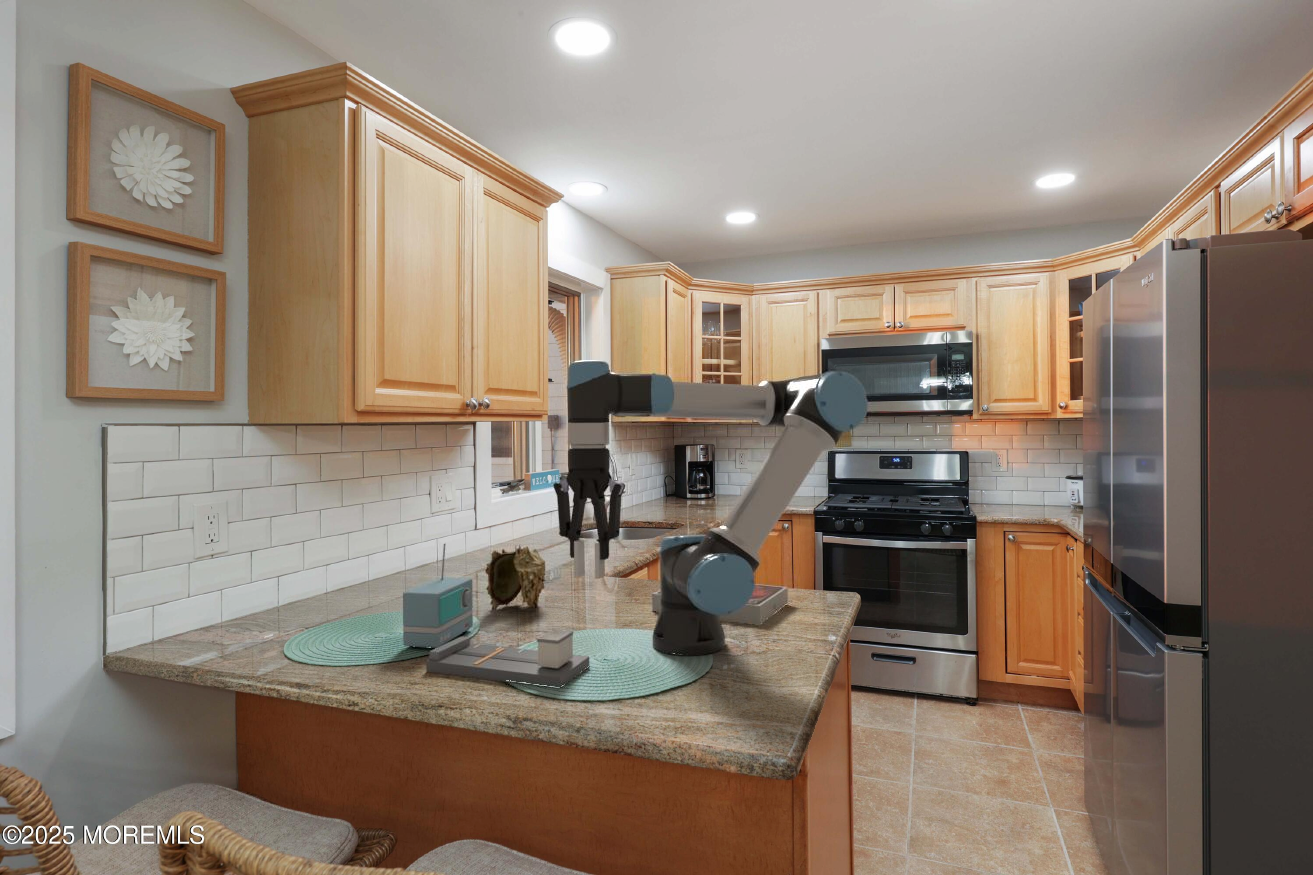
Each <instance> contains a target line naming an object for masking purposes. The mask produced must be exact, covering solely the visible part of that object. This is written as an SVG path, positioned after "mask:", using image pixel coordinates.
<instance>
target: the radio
mask: <svg viewBox="0 0 1313 875" xmlns="http://www.w3.org/2000/svg"><path fill="white" fill-rule="evenodd" d="M445 555H446V543H443V550H442V562H441V563H442V564H441V565H442V566H441V576H440V577H438V578H436V579H434V580H431V581H429V582H426V583H424V584H422V585H419V586H416V587H414V588H411V589H408V590H407V591H404V592H403V593H402V642H403V643H402V645H403V646H405V647H410V646H415V647H431V648H438V647H440V646H442V645H444V644H446V643H449V642H451V641H452V640H454V639H456V638H457V637H458V636H460V635H461V634H464V633H463V632H466V633H467V632H468V630H470V629H472V628H473V626H474V624H473V622H474V620H473V619H474V618H473V616H474V615H473V610H474V609H473V607H474V606H473V605H474V604H473V603H474V602H473V596H474V595H473V594H474V593H473V579H472V578H470V577H467V578H466V577H447V576H446V577H444V570H445Z"/></svg>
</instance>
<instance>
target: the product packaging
mask: <svg viewBox="0 0 1313 875" xmlns="http://www.w3.org/2000/svg"><path fill="white" fill-rule="evenodd" d="M788 590H789V587H787V586H779V585H769V584H767V585H766V584H758V583H755V587H754V591H753V594H752V596H751V598H750V600H749V601H748V602H747V604H746V605H745V606H744V607H743V608H741V609H740V610H738V611H737V612H735V613H732V614H728V615H718V616H719V619H720V621H721V620H723V621H722V622H729V621H731V623H736V622H744V623H751V624H750V625H752V624H757V625H756V626H761V625H762V624H761V623H763V622H764V621H765V620H766V619H767V618H769V617H770V616H772V615H773V614H774V613H775V612H776V611H778V610H779V609H780V608H782V607H783V606H784V605H785V604H787V603H788V602H789V598H788V597H789V595H788V593H789V592H788ZM651 602H652V604H651V611H656V612H655V613H659V612H660V608H661V589H659V590H658V591H656V592H653V593H651ZM788 604H789V603H788ZM773 616H774V615H773ZM773 616H772V617H773ZM769 619H770V618H769ZM765 622H766V621H765ZM765 622H764V623H765ZM744 623H743V624H744ZM764 623H763V624H764ZM760 624H761V625H760Z"/></svg>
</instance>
